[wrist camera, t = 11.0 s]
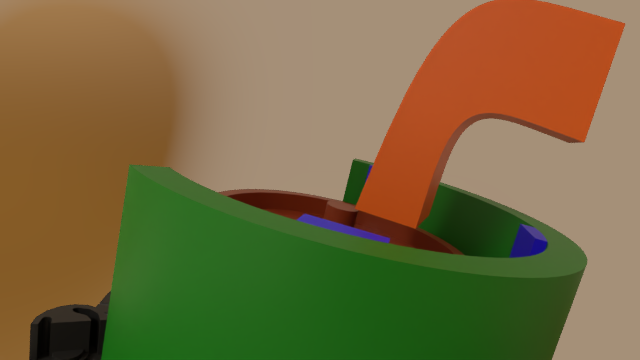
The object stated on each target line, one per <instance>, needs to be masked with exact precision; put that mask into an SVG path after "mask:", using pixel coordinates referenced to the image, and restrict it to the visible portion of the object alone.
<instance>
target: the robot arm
mask: <svg viewBox="0 0 640 360" xmlns="http://www.w3.org/2000/svg"><path fill="white" fill-rule="evenodd" d="M110 295H111V291H110V292H109V293H108V294H107V295H106V296H105V297H104V299H103V300H102V301H101V302H100V304H98V305H97V306H96V307H93V306H89V305H76V304H74V305H66V306H60V307H57V308H54V309H50V310H47V311H46V312H44V313H42V314H40V315H39V316H37V317H36V318H35V319H34V321H33V322H32V323H31V330H30V357H29V360H101V357H102V350H103V343H104V336H105V330H106V323H107V316H108V309H109V302H110Z"/></svg>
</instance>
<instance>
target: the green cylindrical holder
mask: <svg viewBox="0 0 640 360" xmlns="http://www.w3.org/2000/svg"><path fill="white" fill-rule="evenodd" d="M624 26H625V23H622V22H618V21H614V20H611V19H607V18H604V17H600V16H597V15H593V14H590V13H586V12H583V11H579V10H575V9H572V8H568V7H564V6H560V5H556V4H551V3H548V2H542V1H537V0H494V1H490V2H487V3H484V4H482V5H480V6H478V7H476V8H474V9H472V10H470V11H469V12H467V13H466V14H465V15H463V16H462V17H461V18H460V19H459V20H457V21H456V22H455V23H454V24H453V25H452V26H451V27H450V28H449V29H448V30H447V31H446V32H445V33H444V35H443V36H442V37H441V38H440V40H439V41H438V42H437V43H436V45H435V46H434V47H433V49H432V50H431V52H430V53H429V55H428V56H427V57H426V59H425V61H424V63H423V64H422V66H421V67H420V69H419V70H418V72H417V74H416V76H415V78H414V80H413V81H412V83H411V85H410V87H409V88H408V90H407V92H406V94H405V97H404V98H403V100H402V103H401V105H400V107H399V109H398V111H397V113H396V115H395V117H394V119H393V121H392V124H391V126H390V128H389V130H388V132H387V134H386V136H385V139H384V141H383V144H382V146H381V148H380V150H379V152H378V155H377V157H376V159H375V162H374V163H371V162H367V161H363V160H359V159H354V160H353V162H352V166H351V170H350V174H349V179H348V183H347V187H346V191H345V195H344V199H343V201H338V200H334V199H329V198H325V197H319V196H315V195H309V194H303V193H296V192H288V191H279V190H264V189H243V190H242V189H241V190H230V191H223V192H218V193H217V192H215V191H213V190H210V189H208V188H206V187H204V186H201V185H199V184H197V183H195V182H193V181H191V180H189V179H188V178H186V177H184V176H182V175H181V174H179V173H177V172H176V171H174V170H173V169H171V168H170V167H155V166H142V165H130V166H129V172H128V179H127V186H126V193H125V199H124V207H123V213H122V220H121V227H120V234H119V240H118V248H117V254H116V261H115V268H114V275H113V282H112V289H111V295H110V302H109V309H108V316H107V323H106V330H105V336H104V343H103V350H102V357H101V360H552V357H553V354H554V352H555V349H556V346H557V343H558V341H559V338H560V335H561V333H562V330H563V327H564V324H565V322H566V319H567V316H568V313H569V311H570V308H571V305H572V303H573V300H574V297H575V295H576V292H577V289H578V286H579V284H580V281H581V278H582V275H583V273H584V270H585V267H586V265H587V257H586V255H585V254H584V252H583V251H582V249H581V248H580V247H579V246H578V245H577V244H575V243H574V242H573V241H571V240H570V239H569V238H567V237H566V236H565V235H563V234H561V233H560V232H558V231H557V230H555V229H553V228H551V227H549V226H548V225H546V224H544V223H542V222H540V221H538V220H536V219H534V218H532V217H530V216H527V215H525V214H523V213H521V212H519V211H517V210H514V209H512V208H509V207H507V206H505V205H502V204H500V203H497V202H495V201H492V200H489V199H487V198H484V197H481V196H479V195H476V194H473V193H470V192H468V191H465V190H462V189H459V188H456V187H453V186H450V185H447V184H444V183H441V182H440V180H441V177H442V174H443V171H444V169H445V166H446V163H447V161H448V158H449V156H450V154H451V151H452V149H453V147H454V145H455V143H456V142H457V140H458V138H459V137H460V135H461V134H462V132H464V131H465V129H466V128H468V127H469V126H470V125H471V124H473V123H474V122H476V121H478V120H481V119H488V118H494V119H502V120H506V121H510V122H514V123H517V124H520V125H523V126H526V127H529V128H532V129H534V130H537V131H539V132H542V133H545V134H547V135H550V136H552V137H555V138H558V139H560V140H563V141H566V142H568V143H575V142H585V139H586V136H587V133H588V130H589V127H590V124H591V121H592V118H593V116H594V112H595V109H596V107H597V104H598V101H599V98H600V95H601V92H602V90H603V87H604V84H605V81H606V78H607V75H608V72H609V70H610V67H611V64H612V61H613V58H614V55H615V52H616V49H617V46H618V43H619V41H620V38H621V35H622V32H623V29H624Z"/></svg>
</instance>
